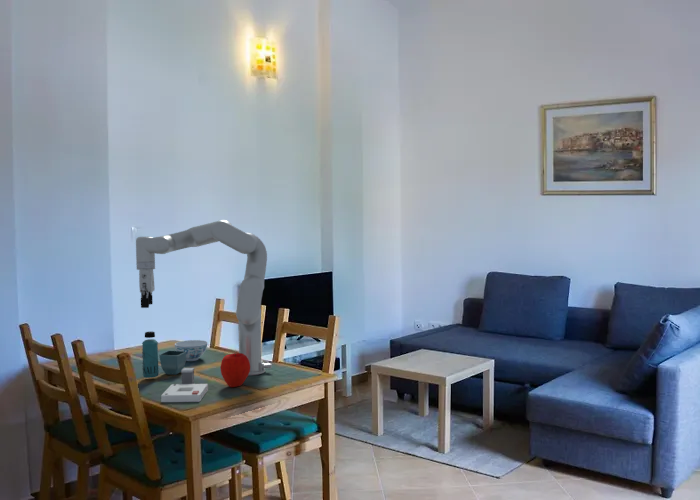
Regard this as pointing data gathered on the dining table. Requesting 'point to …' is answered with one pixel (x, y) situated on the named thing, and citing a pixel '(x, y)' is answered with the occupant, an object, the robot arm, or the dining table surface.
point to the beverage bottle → (150, 356)
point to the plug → (187, 375)
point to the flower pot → (173, 361)
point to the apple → (235, 369)
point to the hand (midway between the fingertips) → (146, 306)
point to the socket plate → (184, 393)
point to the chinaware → (192, 348)
